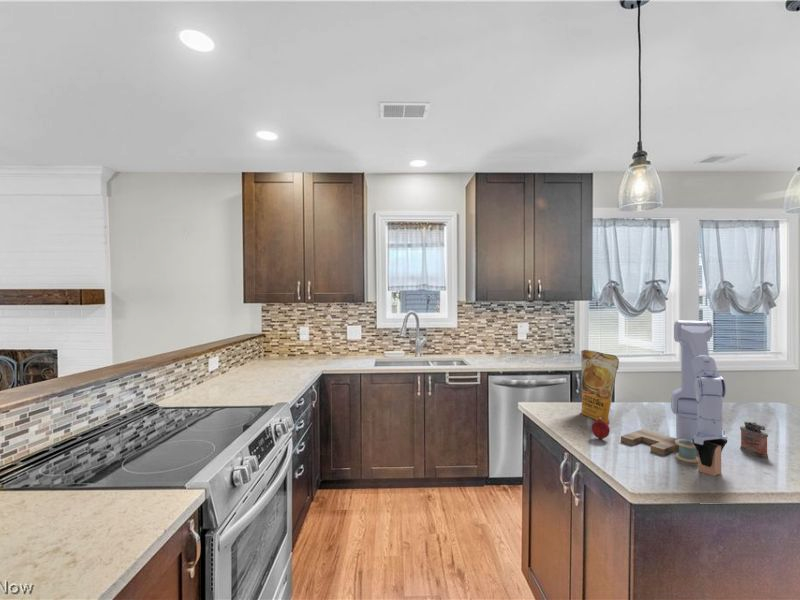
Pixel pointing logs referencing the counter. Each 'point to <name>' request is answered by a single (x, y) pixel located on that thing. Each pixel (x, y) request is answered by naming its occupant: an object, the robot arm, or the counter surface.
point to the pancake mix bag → (597, 383)
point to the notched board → (652, 441)
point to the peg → (713, 463)
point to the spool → (686, 451)
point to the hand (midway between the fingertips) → (709, 463)
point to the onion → (600, 429)
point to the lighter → (754, 439)
